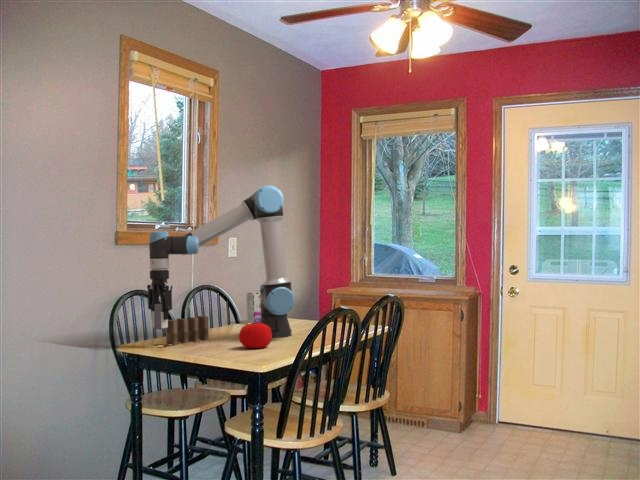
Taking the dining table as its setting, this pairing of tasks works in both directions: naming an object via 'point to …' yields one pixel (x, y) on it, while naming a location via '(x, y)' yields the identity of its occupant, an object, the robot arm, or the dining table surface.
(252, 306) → the candy bar box
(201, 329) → the domino
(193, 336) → the domino
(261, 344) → the tomato
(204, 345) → the dining table surface
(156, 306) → the domino
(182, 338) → the domino
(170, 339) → the domino
